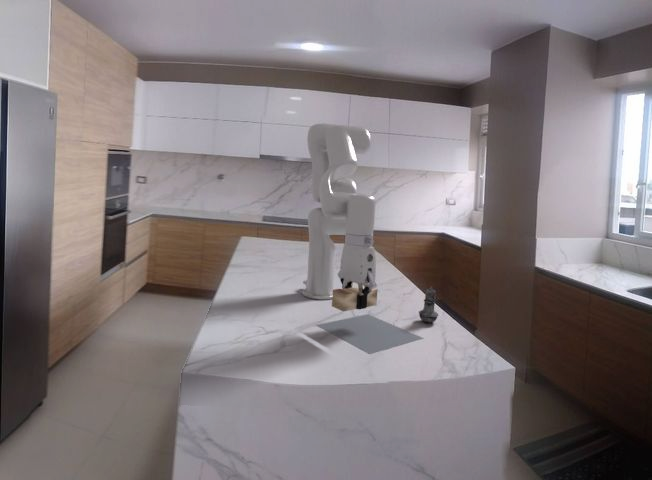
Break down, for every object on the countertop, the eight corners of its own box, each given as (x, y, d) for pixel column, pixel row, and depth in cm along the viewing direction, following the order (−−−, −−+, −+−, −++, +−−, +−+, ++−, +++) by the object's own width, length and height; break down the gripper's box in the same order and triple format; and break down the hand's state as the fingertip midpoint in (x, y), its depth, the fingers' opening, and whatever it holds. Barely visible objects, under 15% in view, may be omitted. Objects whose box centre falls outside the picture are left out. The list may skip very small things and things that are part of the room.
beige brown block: (364, 300, 118) (365, 285, 118) (376, 305, 114) (377, 289, 114) (331, 306, 111) (332, 289, 110) (343, 311, 107) (344, 294, 106)
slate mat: (315, 327, 115) (315, 325, 115) (367, 316, 127) (367, 314, 127) (369, 357, 98) (369, 354, 98) (423, 341, 110) (423, 338, 110)
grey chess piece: (423, 328, 119) (427, 288, 118) (413, 321, 125) (417, 283, 123) (441, 327, 121) (445, 288, 119) (431, 320, 127) (434, 283, 125)
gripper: (391, 244, 106) (386, 312, 108) (348, 236, 119) (344, 296, 122) (370, 246, 101) (365, 316, 104) (328, 236, 115) (324, 299, 117)
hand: (354, 305), depth 113 cm, fingers closed on beige brown block, 5 cm apart
